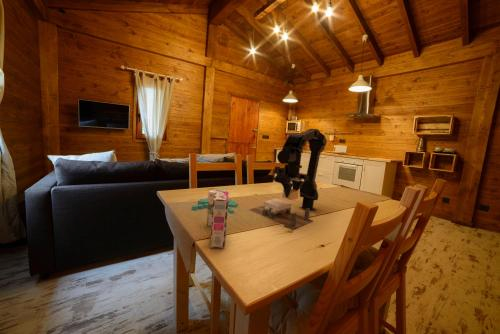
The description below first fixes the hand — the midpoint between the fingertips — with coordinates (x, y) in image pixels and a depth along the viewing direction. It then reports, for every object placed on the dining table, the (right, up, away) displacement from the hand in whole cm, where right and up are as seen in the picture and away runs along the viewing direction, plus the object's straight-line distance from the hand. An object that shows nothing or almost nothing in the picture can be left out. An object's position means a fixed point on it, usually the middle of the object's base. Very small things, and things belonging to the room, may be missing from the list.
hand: (290, 196), depth 101 cm
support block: (0, -1, 0) cm, 1 cm away
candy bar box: (-29, -13, -23) cm, 40 cm away
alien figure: (-35, -7, +13) cm, 38 cm away
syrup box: (-32, -10, -11) cm, 36 cm away
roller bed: (-4, -10, +5) cm, 12 cm away
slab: (-5, -6, +6) cm, 9 cm away
